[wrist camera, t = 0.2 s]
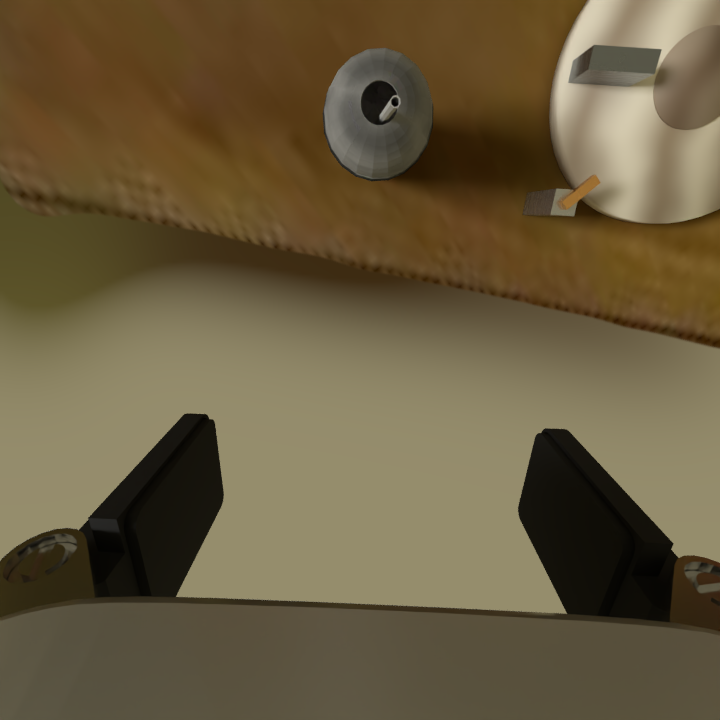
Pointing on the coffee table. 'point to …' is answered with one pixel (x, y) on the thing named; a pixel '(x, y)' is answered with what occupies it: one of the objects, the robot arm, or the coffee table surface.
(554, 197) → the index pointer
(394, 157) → the beverage cup
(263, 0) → the coffee table surface
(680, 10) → the turntable
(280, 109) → the coffee table surface
